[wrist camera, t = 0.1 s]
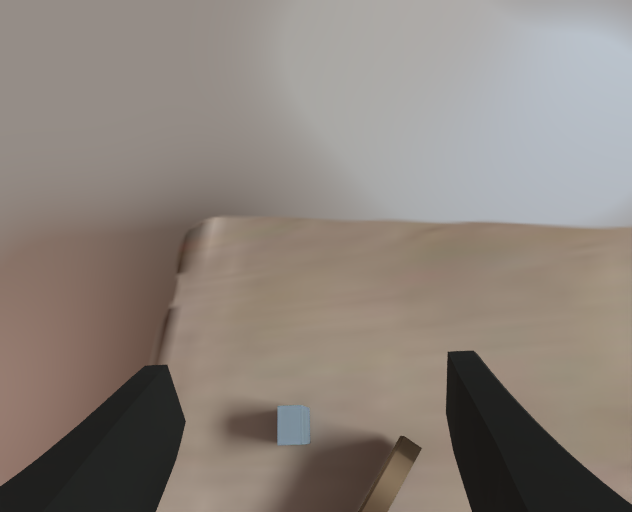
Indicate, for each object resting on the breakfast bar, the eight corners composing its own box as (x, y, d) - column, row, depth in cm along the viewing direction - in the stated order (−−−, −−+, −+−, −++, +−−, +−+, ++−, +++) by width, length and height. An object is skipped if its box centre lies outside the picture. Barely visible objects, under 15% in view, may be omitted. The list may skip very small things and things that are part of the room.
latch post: (310, 443, 41) (302, 444, 37) (288, 443, 41) (277, 445, 37) (309, 408, 42) (301, 405, 38) (287, 409, 42) (277, 405, 38)
